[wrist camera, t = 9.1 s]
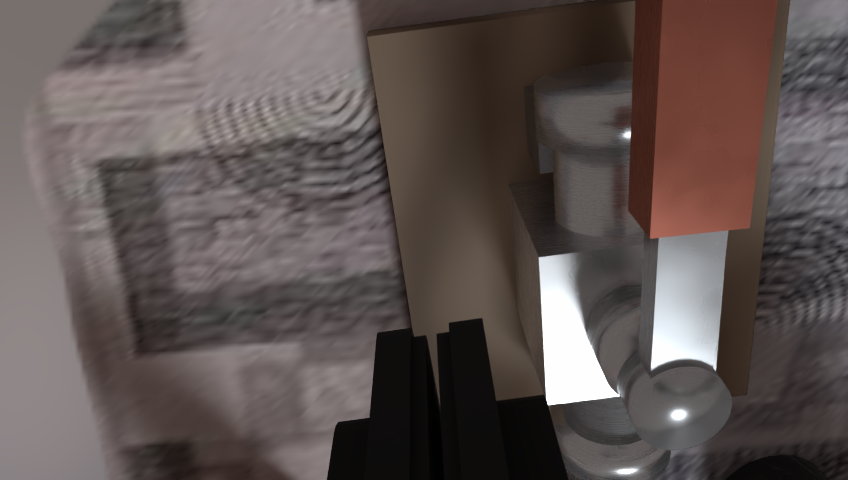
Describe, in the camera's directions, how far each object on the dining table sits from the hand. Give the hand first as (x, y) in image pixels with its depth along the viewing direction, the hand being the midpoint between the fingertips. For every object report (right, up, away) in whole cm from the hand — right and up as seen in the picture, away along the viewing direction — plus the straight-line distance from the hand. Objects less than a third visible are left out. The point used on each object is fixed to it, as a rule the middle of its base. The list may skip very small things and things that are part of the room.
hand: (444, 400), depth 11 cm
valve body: (+8, +3, +22) cm, 24 cm away
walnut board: (+7, +3, +24) cm, 25 cm away
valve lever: (+7, +3, +11) cm, 13 cm away
